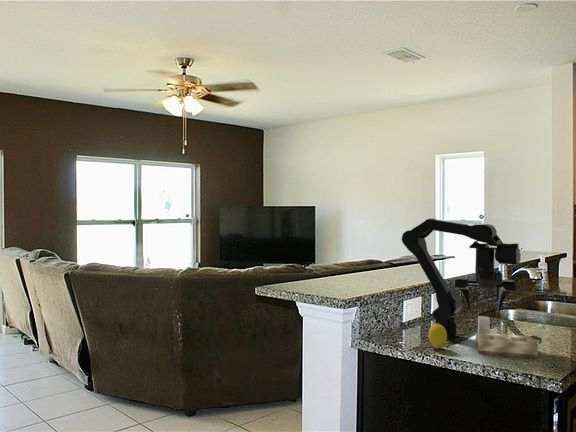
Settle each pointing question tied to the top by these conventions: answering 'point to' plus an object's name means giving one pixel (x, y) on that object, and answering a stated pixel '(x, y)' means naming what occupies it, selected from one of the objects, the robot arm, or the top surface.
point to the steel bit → (483, 324)
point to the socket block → (506, 345)
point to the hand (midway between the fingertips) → (483, 310)
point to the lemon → (437, 335)
